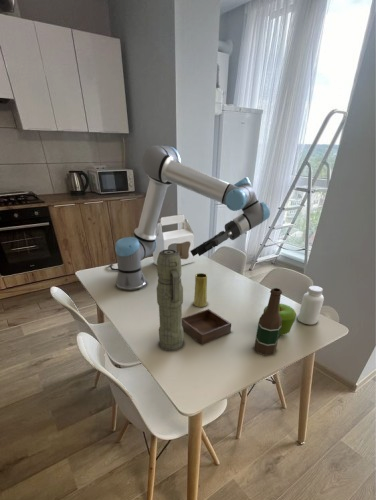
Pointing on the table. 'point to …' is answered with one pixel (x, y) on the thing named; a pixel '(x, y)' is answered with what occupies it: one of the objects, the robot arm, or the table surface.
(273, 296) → the beer bottle
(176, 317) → the thermos
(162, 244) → the gable box
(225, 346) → the table surface
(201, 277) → the vase
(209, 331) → the tray
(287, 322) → the apple
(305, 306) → the pill bottle
